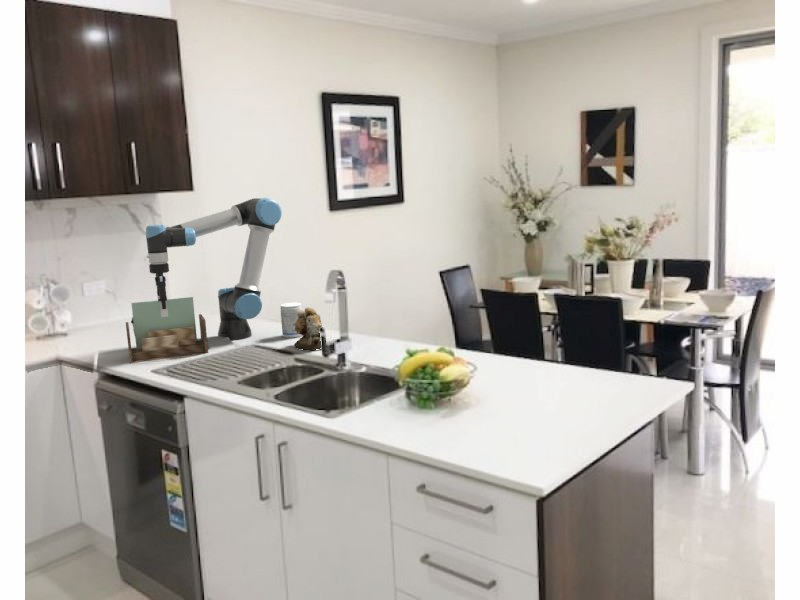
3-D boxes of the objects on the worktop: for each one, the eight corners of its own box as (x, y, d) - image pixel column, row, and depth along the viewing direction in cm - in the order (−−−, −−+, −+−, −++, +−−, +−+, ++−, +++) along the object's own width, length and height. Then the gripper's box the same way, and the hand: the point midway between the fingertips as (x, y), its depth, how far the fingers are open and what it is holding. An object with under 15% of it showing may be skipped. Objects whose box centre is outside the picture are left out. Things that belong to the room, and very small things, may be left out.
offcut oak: (195, 349, 288) (193, 326, 287) (196, 350, 287) (193, 327, 286) (150, 355, 282) (147, 331, 280) (150, 356, 281) (148, 332, 279)
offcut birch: (179, 353, 283) (177, 334, 282) (179, 354, 282) (177, 335, 281) (143, 358, 278) (140, 338, 277) (143, 358, 277) (141, 339, 275)
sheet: (197, 348, 292) (192, 296, 288) (197, 348, 290) (192, 297, 287) (137, 355, 283) (131, 303, 279) (137, 356, 282) (131, 303, 278)
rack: (204, 349, 295) (201, 314, 292) (208, 356, 282) (205, 319, 279) (129, 359, 284) (125, 322, 281) (130, 366, 271) (126, 328, 268)
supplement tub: (290, 333, 320) (288, 302, 318) (307, 334, 316) (305, 302, 314) (278, 337, 312) (275, 305, 309) (295, 338, 308) (293, 306, 305)
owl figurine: (286, 346, 295) (283, 307, 292) (309, 341, 302) (307, 303, 299) (309, 352, 281) (307, 311, 278) (333, 347, 289) (330, 307, 286)
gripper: (147, 261, 290) (152, 310, 294) (150, 266, 267) (155, 320, 271) (166, 259, 293) (170, 308, 296) (170, 265, 270) (175, 318, 274)
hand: (163, 314), depth 284 cm, fingers open, 13 cm apart
